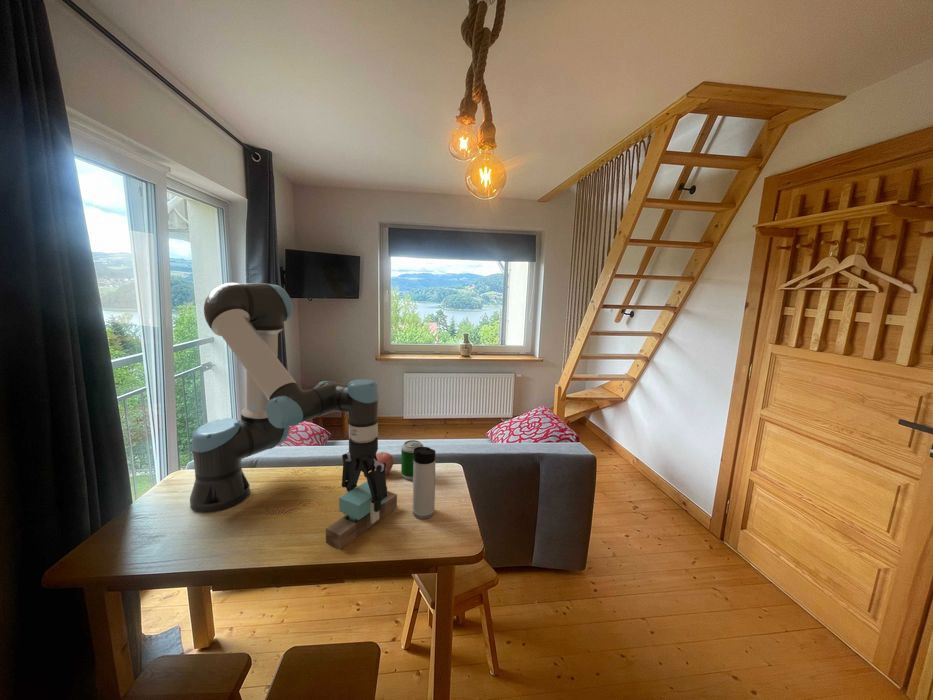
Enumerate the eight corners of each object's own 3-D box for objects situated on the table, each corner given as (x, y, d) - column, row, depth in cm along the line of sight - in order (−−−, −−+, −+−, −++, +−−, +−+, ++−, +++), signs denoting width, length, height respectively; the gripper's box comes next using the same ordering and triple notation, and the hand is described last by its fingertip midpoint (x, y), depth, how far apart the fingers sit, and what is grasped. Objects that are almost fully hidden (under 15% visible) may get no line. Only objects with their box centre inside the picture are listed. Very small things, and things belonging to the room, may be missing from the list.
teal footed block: (339, 523, 101) (339, 497, 99) (368, 503, 110) (368, 480, 109) (359, 532, 97) (358, 505, 96) (387, 511, 107) (387, 486, 106)
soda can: (418, 482, 127) (419, 449, 125) (397, 479, 128) (398, 446, 126) (425, 472, 134) (426, 440, 132) (405, 469, 136) (406, 438, 134)
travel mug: (407, 513, 110) (408, 448, 106) (424, 504, 114) (425, 442, 111) (421, 522, 105) (422, 455, 102) (438, 513, 110) (440, 448, 107)
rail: (326, 542, 96) (325, 528, 95) (384, 501, 115) (384, 489, 114) (340, 549, 93) (339, 535, 93) (396, 506, 112) (397, 494, 112)
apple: (367, 475, 130) (367, 453, 129) (379, 466, 137) (379, 445, 136) (385, 480, 128) (385, 458, 126) (397, 471, 134) (397, 449, 133)
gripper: (325, 434, 102) (328, 512, 105) (382, 451, 92) (382, 536, 96) (346, 425, 108) (348, 499, 112) (402, 441, 99) (401, 521, 102)
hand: (364, 516), depth 104 cm, fingers closed on teal footed block, 7 cm apart
